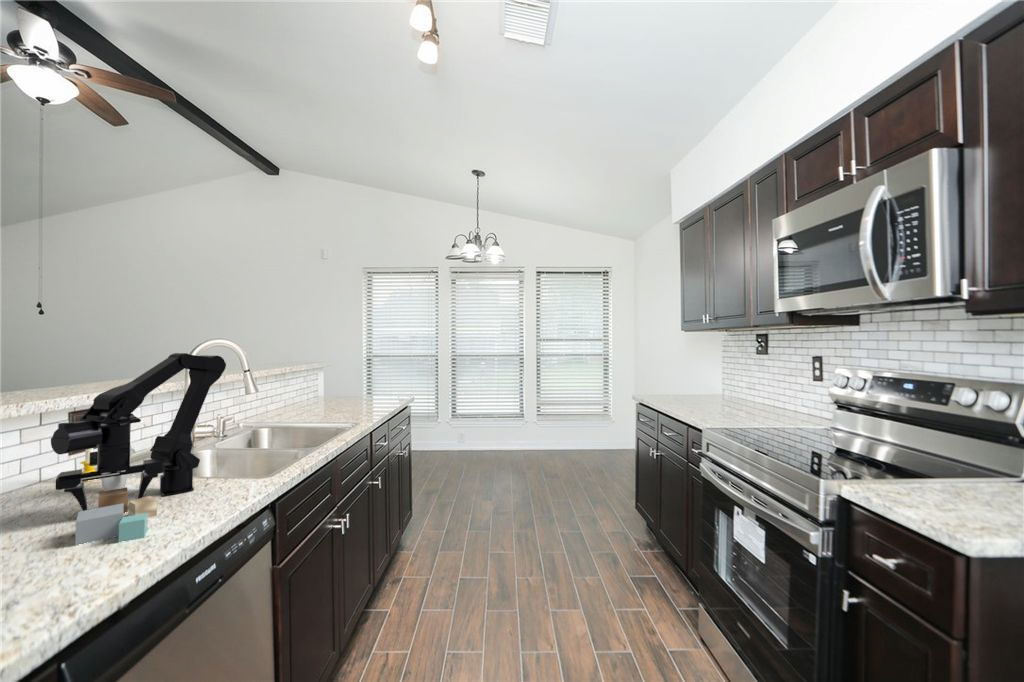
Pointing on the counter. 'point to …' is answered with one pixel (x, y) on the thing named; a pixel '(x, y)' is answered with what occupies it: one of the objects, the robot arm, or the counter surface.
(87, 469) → the candle
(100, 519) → the grey cube
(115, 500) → the walnut cube
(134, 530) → the teal cube
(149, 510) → the maple cube
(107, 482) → the cup with straw
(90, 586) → the counter surface
